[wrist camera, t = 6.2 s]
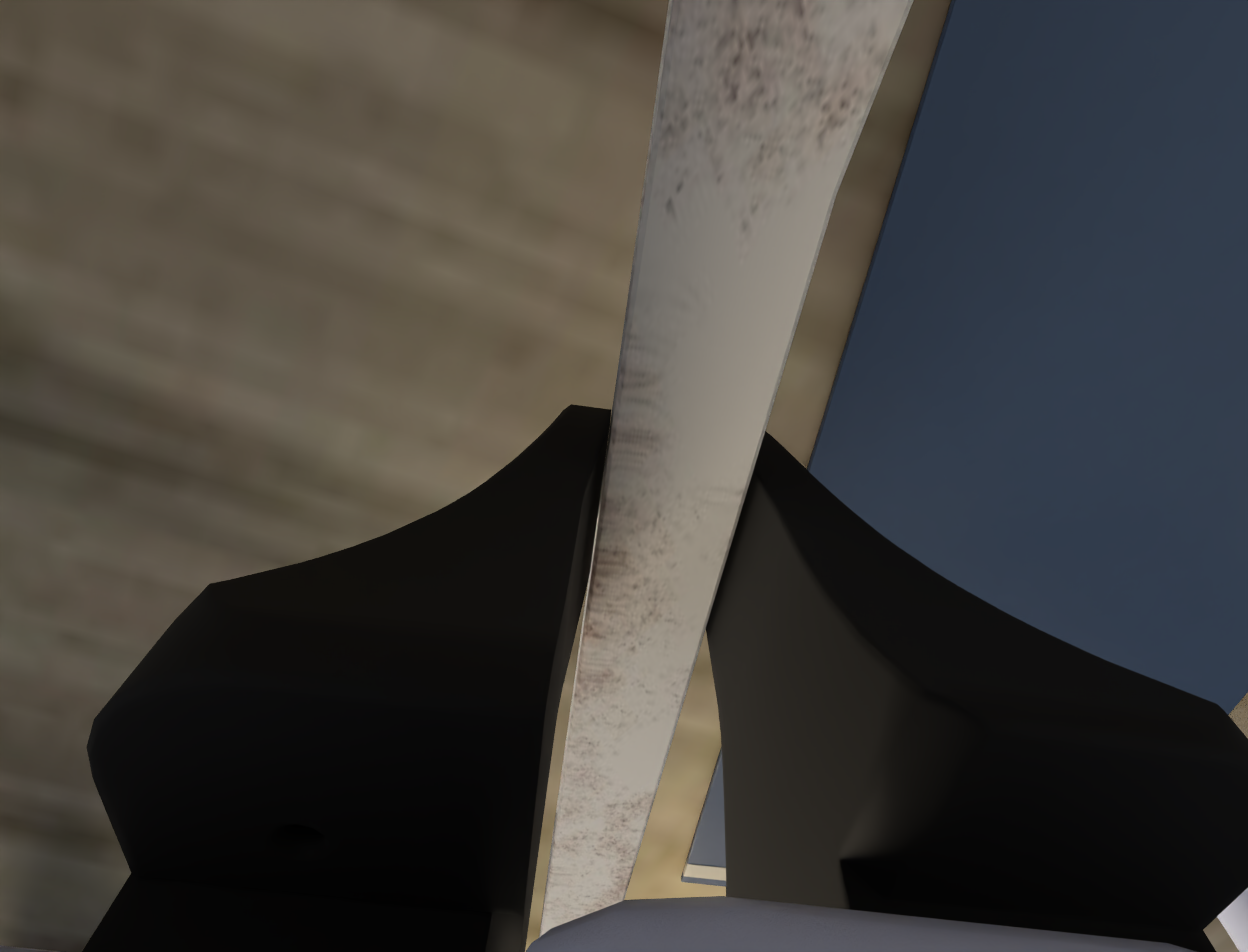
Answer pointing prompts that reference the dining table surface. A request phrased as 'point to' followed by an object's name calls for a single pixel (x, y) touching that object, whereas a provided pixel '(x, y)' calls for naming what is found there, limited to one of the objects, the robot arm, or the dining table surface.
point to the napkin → (1063, 339)
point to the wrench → (699, 379)
